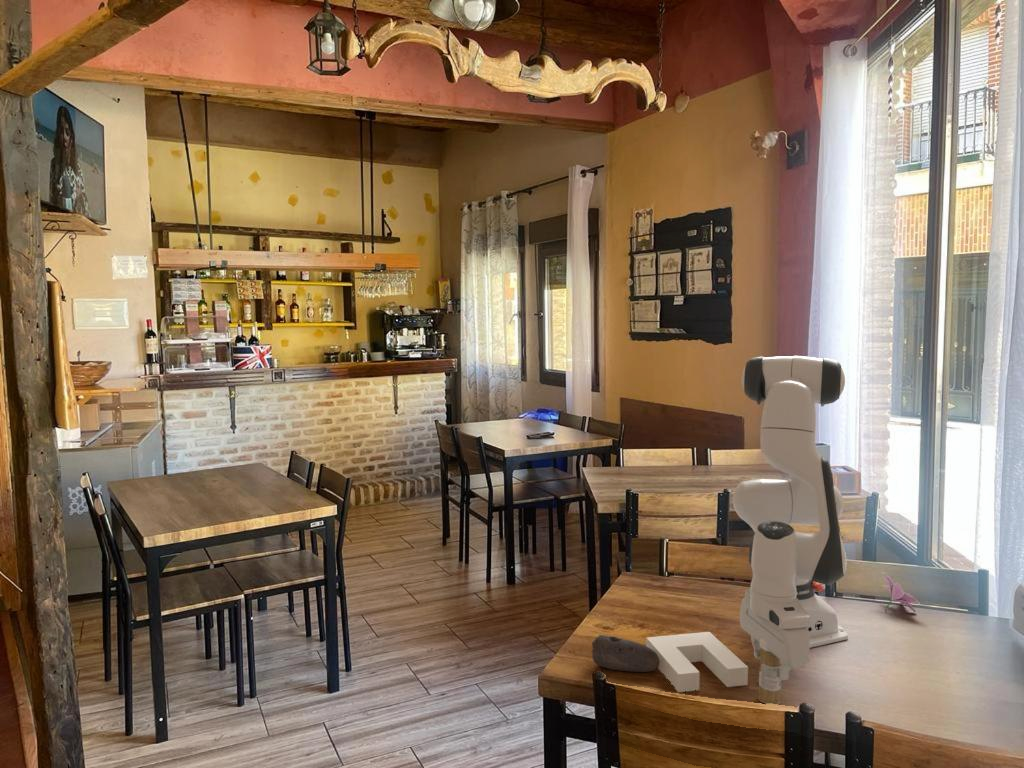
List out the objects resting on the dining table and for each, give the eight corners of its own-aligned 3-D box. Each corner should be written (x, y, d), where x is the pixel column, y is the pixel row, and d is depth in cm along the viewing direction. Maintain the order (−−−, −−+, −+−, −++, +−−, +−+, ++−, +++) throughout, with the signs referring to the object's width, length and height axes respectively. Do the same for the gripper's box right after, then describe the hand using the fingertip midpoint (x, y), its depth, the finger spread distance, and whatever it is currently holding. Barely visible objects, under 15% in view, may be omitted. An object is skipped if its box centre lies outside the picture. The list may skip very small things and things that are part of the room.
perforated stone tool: (661, 669, 163) (661, 639, 162) (657, 680, 158) (658, 649, 157) (595, 659, 168) (595, 630, 167) (590, 669, 163) (590, 640, 162)
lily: (919, 627, 187) (933, 594, 188) (873, 605, 190) (888, 571, 191) (904, 623, 198) (918, 591, 199) (861, 602, 202) (875, 570, 203)
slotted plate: (708, 647, 173) (709, 631, 173) (747, 684, 156) (748, 667, 155) (646, 653, 170) (646, 637, 170) (678, 692, 153) (678, 674, 152)
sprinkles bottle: (763, 693, 152) (765, 631, 151) (784, 701, 149) (787, 638, 148) (754, 701, 149) (756, 638, 148) (775, 709, 146) (777, 645, 145)
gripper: (733, 585, 157) (731, 646, 158) (786, 624, 137) (784, 694, 138) (759, 583, 158) (757, 644, 159) (816, 622, 138) (814, 691, 139)
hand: (770, 668), depth 148 cm, fingers open, 7 cm apart
